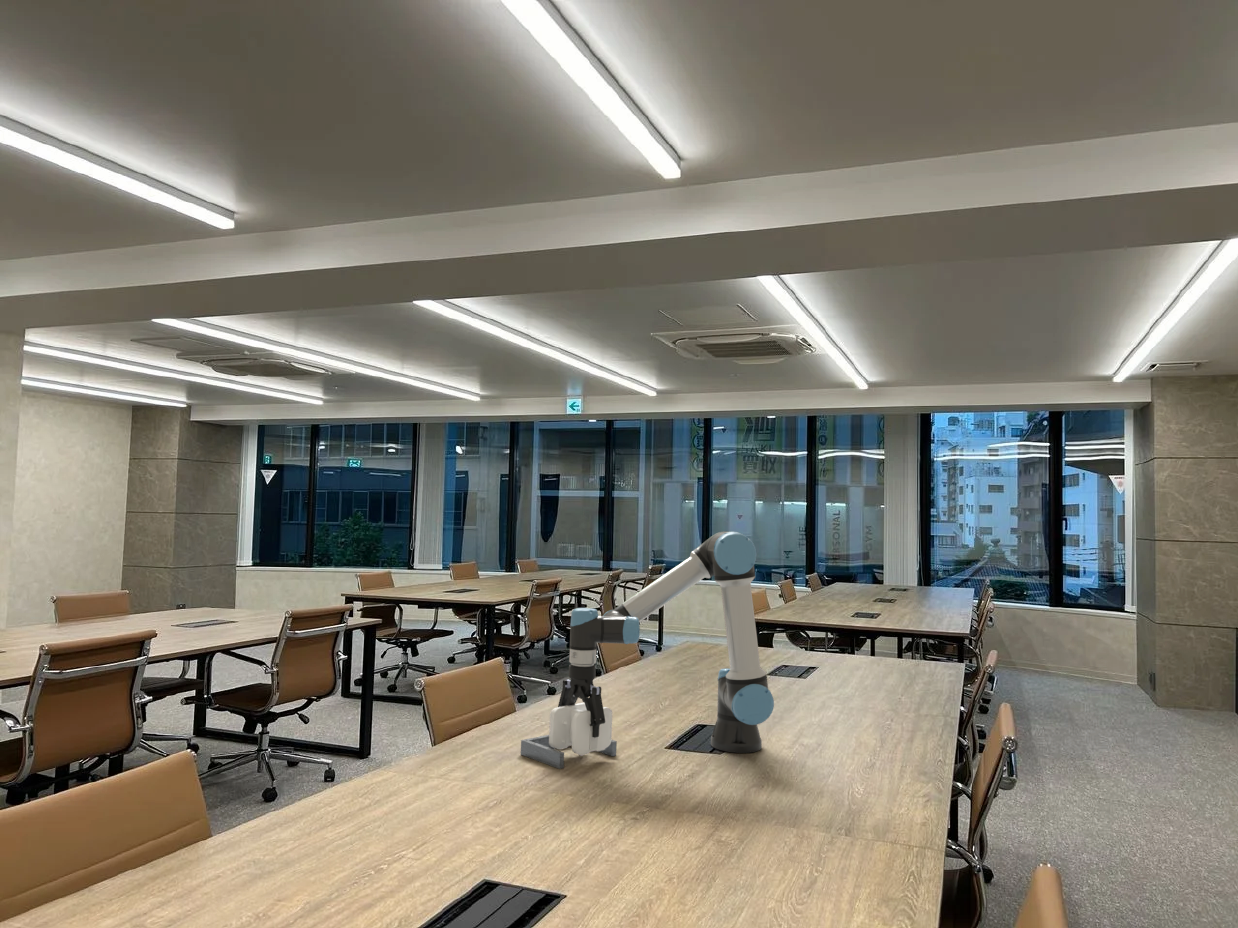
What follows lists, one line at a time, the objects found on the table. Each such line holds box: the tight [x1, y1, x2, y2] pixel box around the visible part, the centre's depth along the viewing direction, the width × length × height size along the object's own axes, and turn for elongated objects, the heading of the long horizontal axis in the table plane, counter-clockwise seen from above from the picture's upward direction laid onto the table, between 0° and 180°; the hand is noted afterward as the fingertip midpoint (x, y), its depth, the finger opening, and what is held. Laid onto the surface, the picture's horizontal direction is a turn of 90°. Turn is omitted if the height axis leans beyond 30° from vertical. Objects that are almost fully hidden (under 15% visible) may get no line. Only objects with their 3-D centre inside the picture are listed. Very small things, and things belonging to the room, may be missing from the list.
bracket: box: [520, 734, 618, 770], centre depth 237 cm, size 17×21×4 cm
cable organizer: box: [548, 702, 613, 756], centre depth 234 cm, size 15×11×12 cm
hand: (579, 744), depth 234 cm, fingers closed on cable organizer, 10 cm apart
